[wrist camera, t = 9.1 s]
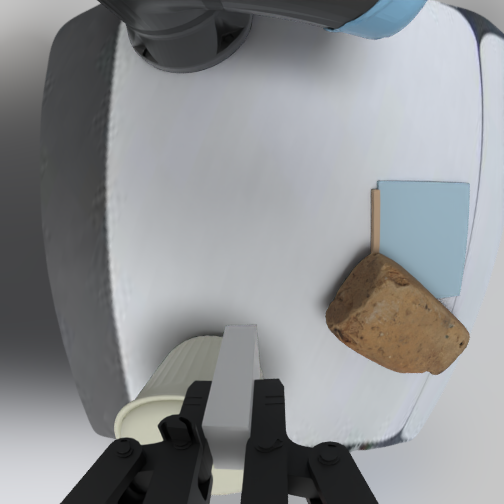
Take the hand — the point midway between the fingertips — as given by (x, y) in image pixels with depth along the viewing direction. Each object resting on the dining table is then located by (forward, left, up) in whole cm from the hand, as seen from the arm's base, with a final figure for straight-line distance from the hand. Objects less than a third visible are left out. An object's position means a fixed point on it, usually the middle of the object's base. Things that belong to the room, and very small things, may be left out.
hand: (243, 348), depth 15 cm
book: (+2, +22, -23) cm, 32 cm away
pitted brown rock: (+5, +10, -18) cm, 21 cm away
